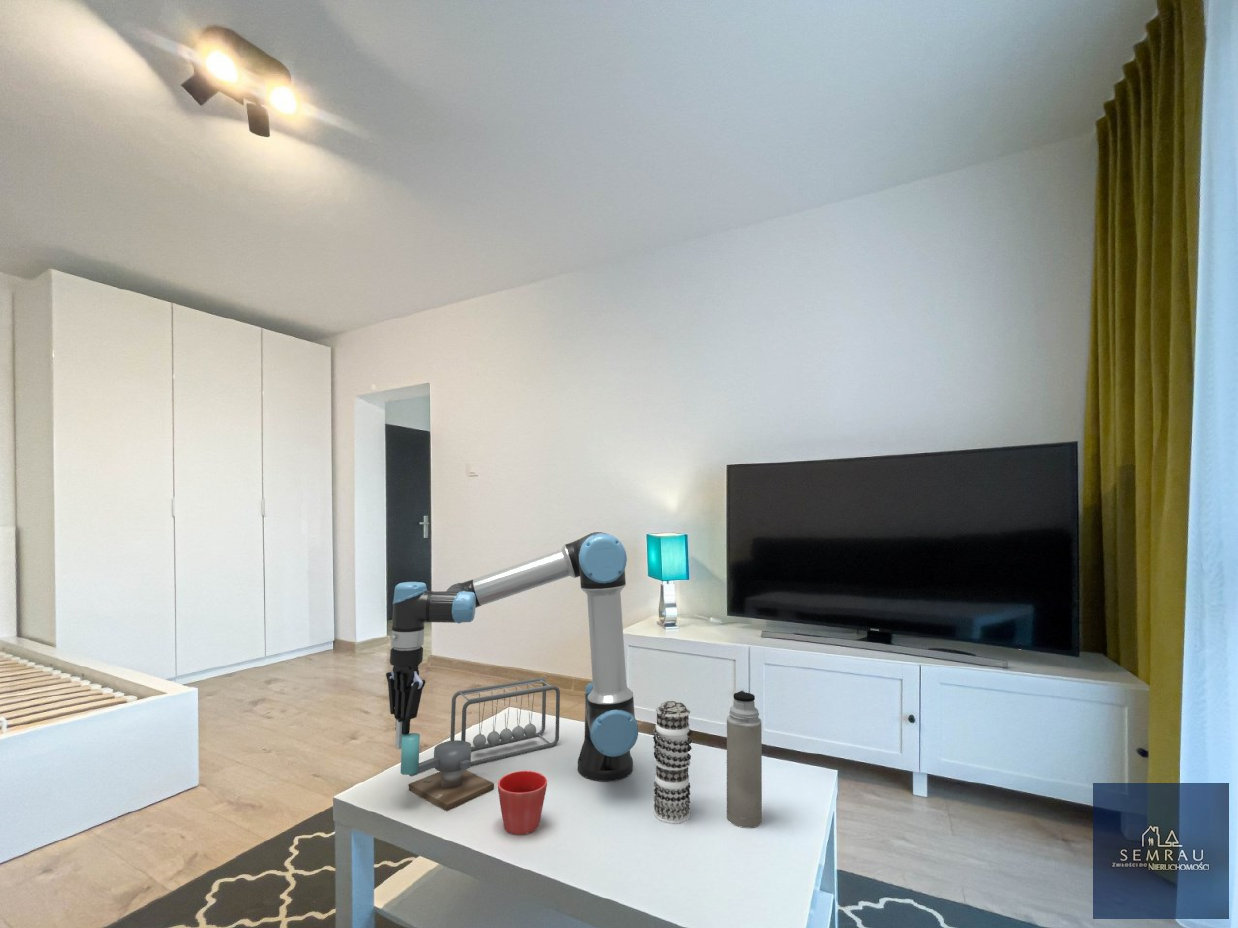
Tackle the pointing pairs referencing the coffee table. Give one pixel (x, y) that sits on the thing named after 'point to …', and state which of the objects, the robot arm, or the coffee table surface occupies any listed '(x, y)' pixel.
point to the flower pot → (522, 801)
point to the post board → (451, 788)
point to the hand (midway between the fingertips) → (401, 746)
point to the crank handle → (445, 756)
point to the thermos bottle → (744, 762)
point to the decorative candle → (672, 763)
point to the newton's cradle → (506, 733)
